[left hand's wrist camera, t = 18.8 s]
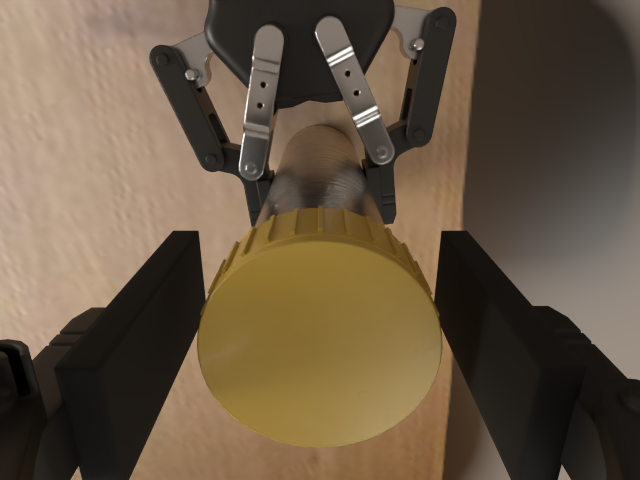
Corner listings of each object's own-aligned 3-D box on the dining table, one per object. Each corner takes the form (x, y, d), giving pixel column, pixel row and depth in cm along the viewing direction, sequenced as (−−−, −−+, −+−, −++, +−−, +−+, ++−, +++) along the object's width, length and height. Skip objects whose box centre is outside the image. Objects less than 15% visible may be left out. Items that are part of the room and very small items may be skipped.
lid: (444, 359, 13) (469, 418, 11) (259, 408, 13) (248, 473, 11) (394, 174, 11) (412, 201, 9) (181, 242, 11) (149, 283, 9)
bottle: (347, 116, 28) (398, 219, 10) (363, 187, 30) (433, 390, 11) (274, 135, 29) (192, 267, 10) (294, 204, 30) (255, 425, 12)
